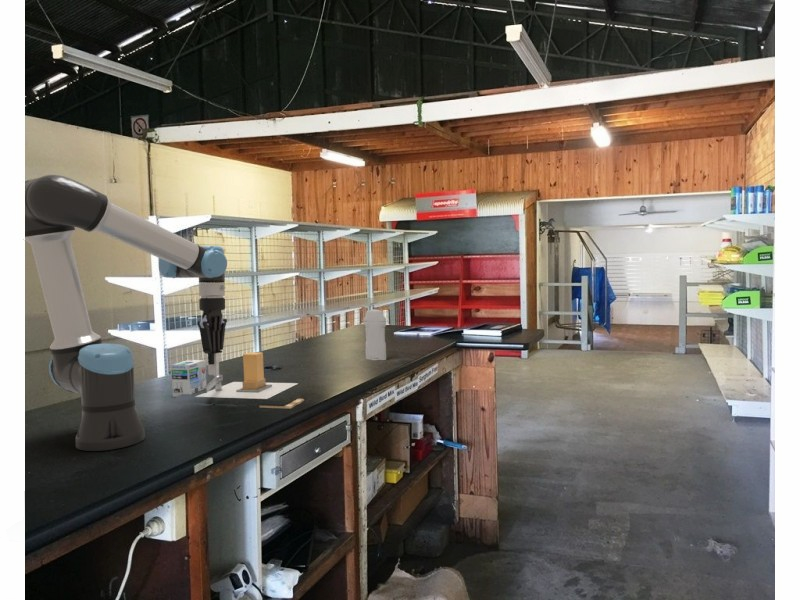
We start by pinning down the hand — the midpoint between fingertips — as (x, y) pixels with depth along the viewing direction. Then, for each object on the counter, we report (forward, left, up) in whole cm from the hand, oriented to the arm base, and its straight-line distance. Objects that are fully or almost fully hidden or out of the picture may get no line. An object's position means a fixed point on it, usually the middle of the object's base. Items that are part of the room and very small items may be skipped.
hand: (213, 374), depth 183 cm
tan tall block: (+18, -4, -8) cm, 20 cm away
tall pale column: (+87, -26, -9) cm, 91 cm away
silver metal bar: (+6, +4, -5) cm, 9 cm away
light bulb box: (+13, +17, -10) cm, 24 cm away
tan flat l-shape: (+3, -21, -9) cm, 23 cm away
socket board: (+17, -2, -9) cm, 20 cm away
